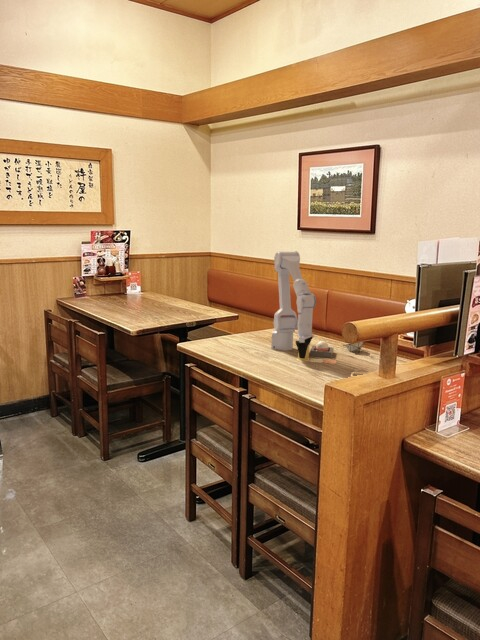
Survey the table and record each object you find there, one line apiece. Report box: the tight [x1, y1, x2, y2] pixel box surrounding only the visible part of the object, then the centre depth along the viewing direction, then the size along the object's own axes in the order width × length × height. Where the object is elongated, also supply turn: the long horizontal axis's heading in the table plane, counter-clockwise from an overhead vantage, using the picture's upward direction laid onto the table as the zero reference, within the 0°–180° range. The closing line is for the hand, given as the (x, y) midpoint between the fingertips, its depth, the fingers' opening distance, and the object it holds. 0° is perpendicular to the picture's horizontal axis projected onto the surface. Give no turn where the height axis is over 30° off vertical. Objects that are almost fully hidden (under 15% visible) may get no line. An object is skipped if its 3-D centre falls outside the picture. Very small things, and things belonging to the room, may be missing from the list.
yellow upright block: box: [297, 345, 310, 362], centre depth 208 cm, size 4×4×6 cm
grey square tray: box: [309, 345, 334, 359], centre depth 217 cm, size 9×9×2 cm
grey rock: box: [342, 341, 366, 353], centre depth 224 cm, size 9×8×10 cm
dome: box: [315, 340, 330, 352], centre depth 216 cm, size 6×6×5 cm
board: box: [296, 357, 337, 365], centre depth 212 cm, size 17×22×1 cm
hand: (303, 355), depth 208 cm, fingers open, 7 cm apart
